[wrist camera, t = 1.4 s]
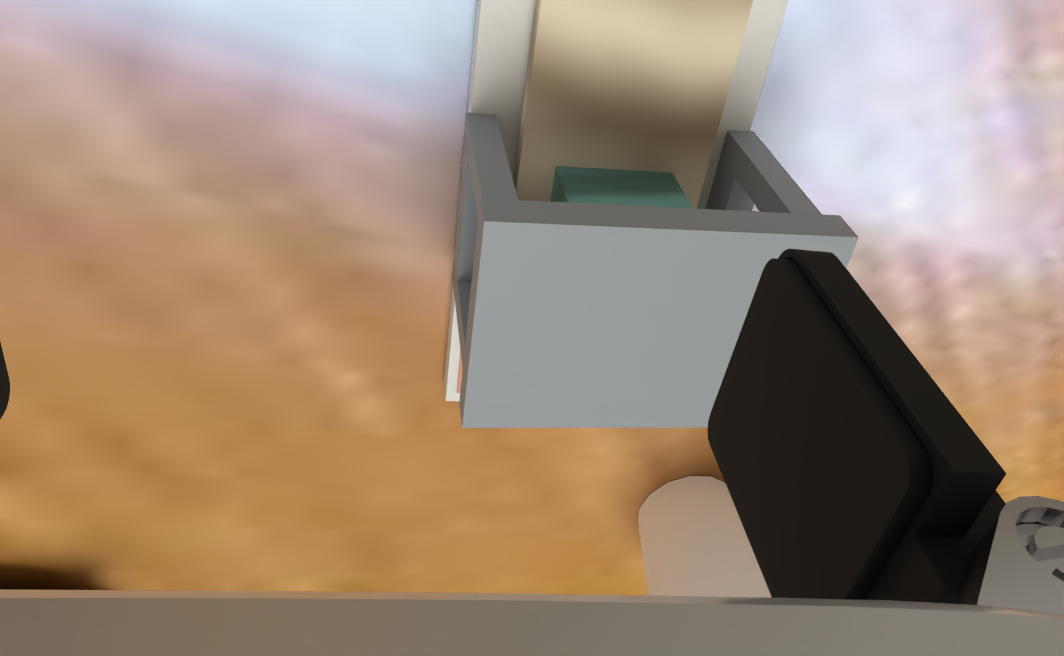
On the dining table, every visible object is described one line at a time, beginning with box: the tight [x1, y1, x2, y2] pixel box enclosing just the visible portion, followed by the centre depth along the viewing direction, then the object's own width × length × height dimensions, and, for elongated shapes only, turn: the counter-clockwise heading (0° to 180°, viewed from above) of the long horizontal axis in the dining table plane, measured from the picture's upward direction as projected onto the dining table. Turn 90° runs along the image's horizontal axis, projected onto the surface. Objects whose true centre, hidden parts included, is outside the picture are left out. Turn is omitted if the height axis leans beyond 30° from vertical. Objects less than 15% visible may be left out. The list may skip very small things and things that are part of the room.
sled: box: [513, 0, 753, 209], centre depth 31 cm, size 21×8×8 cm, turn 173°
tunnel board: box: [444, 0, 858, 428], centre depth 30 cm, size 38×13×11 cm, turn 173°
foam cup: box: [638, 476, 772, 598], centre depth 48 cm, size 10×9×13 cm
